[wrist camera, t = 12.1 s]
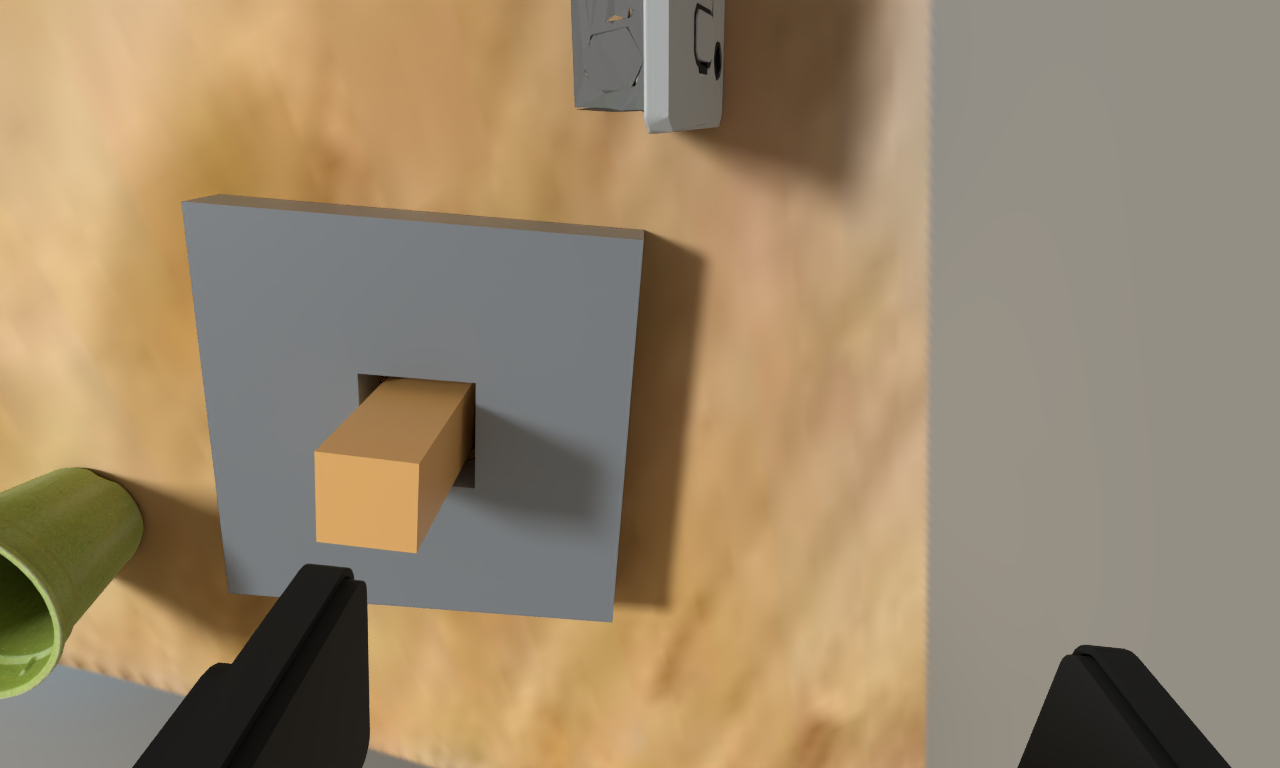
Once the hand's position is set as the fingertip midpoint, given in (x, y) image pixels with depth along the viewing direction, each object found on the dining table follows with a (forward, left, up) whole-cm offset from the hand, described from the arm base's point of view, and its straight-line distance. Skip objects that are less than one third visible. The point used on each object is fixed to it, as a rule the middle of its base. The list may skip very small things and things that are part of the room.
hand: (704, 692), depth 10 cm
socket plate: (+8, -11, -28) cm, 31 cm away
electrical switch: (-11, -1, -28) cm, 30 cm away
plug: (+8, -11, -28) cm, 31 cm away
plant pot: (+16, -30, -28) cm, 44 cm away
